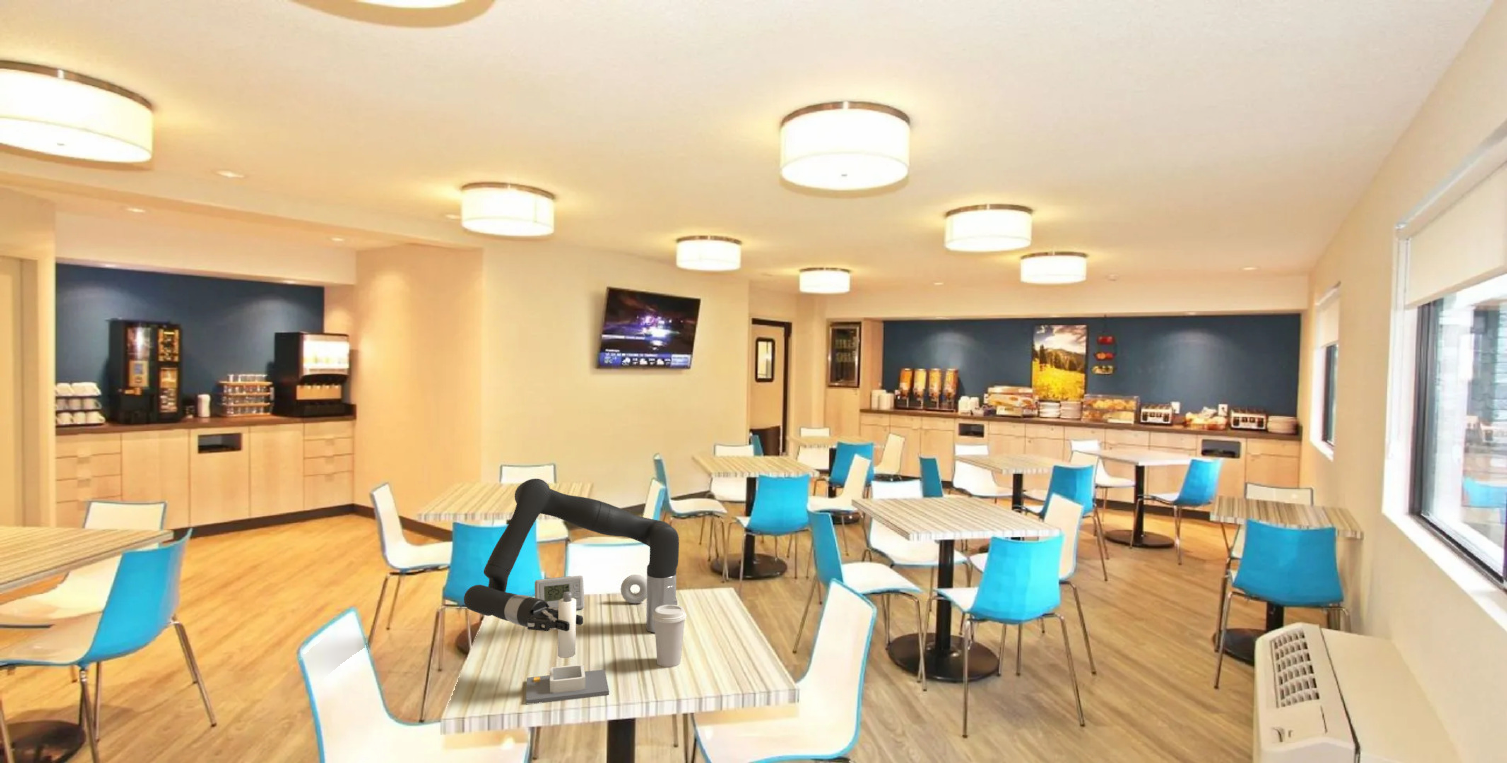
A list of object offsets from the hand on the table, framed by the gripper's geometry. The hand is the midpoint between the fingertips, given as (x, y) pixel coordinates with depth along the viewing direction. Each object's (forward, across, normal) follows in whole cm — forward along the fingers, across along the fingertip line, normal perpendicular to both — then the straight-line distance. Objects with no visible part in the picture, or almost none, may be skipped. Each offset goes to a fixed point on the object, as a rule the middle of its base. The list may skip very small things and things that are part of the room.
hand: (575, 623), depth 184 cm
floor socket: (-3, 0, +17) cm, 17 cm away
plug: (-3, 0, +8) cm, 9 cm away
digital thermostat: (-45, +42, +18) cm, 64 cm away
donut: (-27, +60, +17) cm, 68 cm away
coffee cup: (+11, +26, +17) cm, 33 cm away
